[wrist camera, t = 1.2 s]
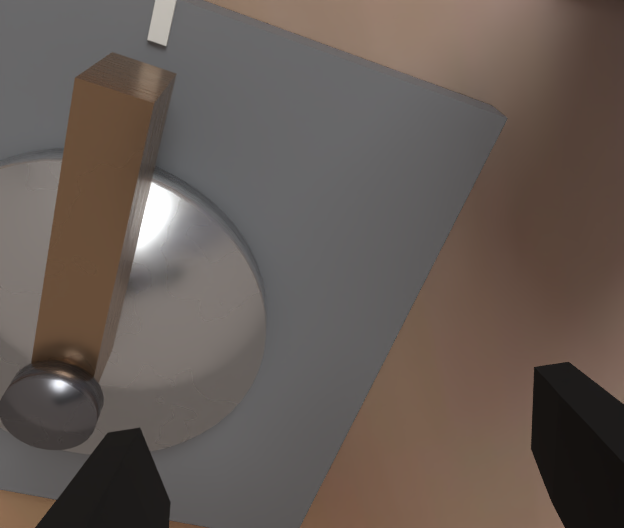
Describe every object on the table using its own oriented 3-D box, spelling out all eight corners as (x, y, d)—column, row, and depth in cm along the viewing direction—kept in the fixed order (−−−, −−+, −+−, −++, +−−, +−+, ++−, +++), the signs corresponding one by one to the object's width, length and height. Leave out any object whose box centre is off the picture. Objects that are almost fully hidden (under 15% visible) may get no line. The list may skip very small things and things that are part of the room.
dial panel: (491, 105, 18) (509, 119, 17) (291, 513, 27) (292, 545, 26) (-225, -156, 14) (-281, -167, 13) (-186, 422, 23) (-217, 454, 22)
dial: (219, 456, 23) (204, 577, 19) (-84, 393, 21) (-181, 514, 16) (346, 119, 17) (369, 184, 12) (-68, -21, 15) (-217, -3, 10)
